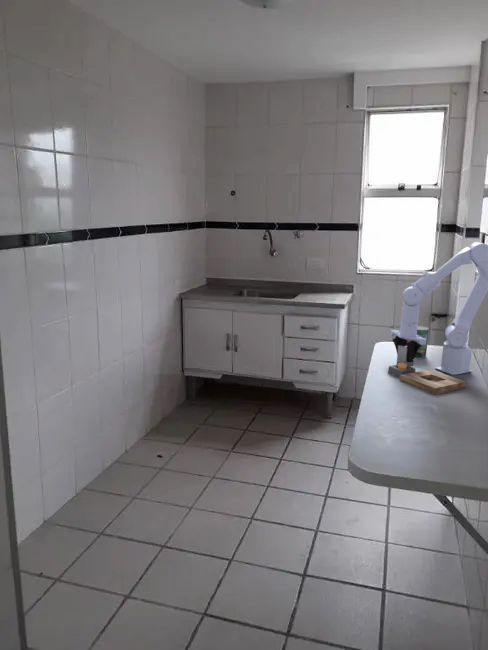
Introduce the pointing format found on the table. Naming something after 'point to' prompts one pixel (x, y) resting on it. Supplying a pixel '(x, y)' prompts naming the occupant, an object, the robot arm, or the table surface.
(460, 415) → the table surface
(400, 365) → the button cap
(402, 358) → the billet
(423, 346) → the canned tomato
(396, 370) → the button housing
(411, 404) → the table surface
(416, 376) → the wooden board
